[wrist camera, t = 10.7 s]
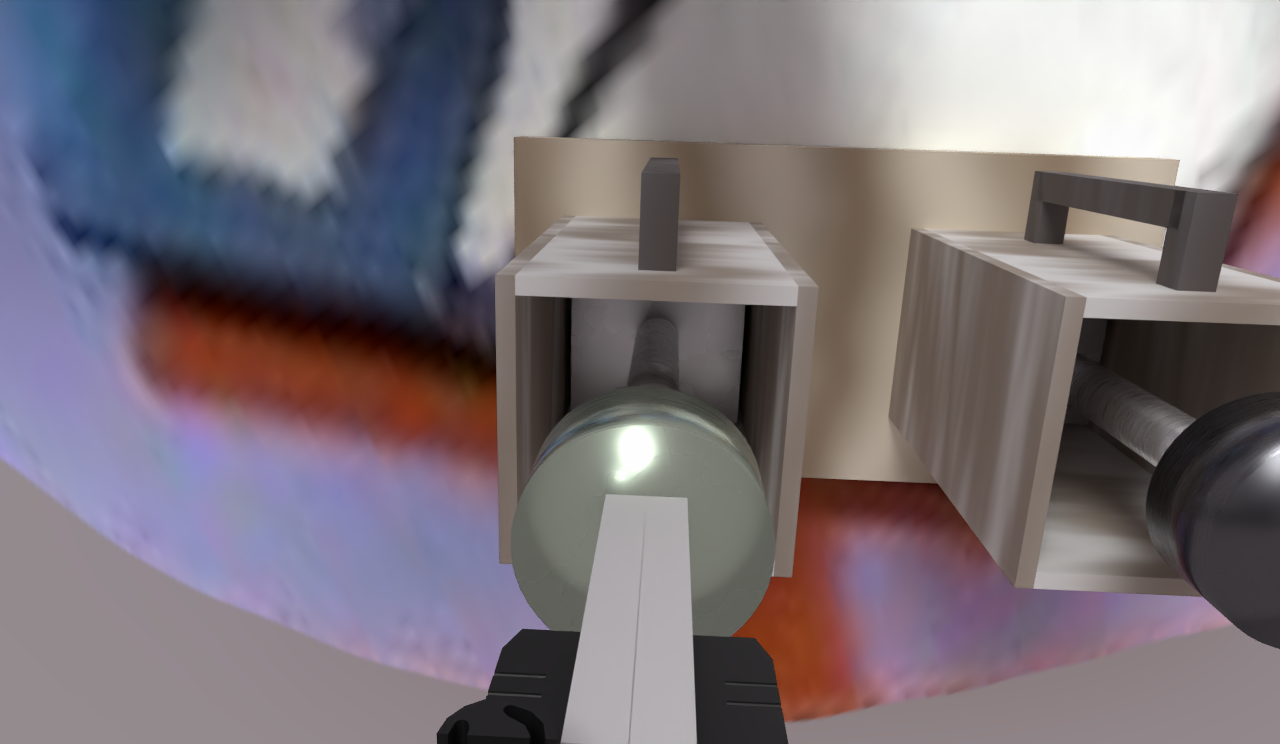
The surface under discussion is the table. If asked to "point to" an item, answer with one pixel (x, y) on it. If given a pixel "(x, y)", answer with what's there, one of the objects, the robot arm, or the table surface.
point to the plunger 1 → (648, 459)
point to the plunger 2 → (1199, 484)
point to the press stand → (901, 322)
